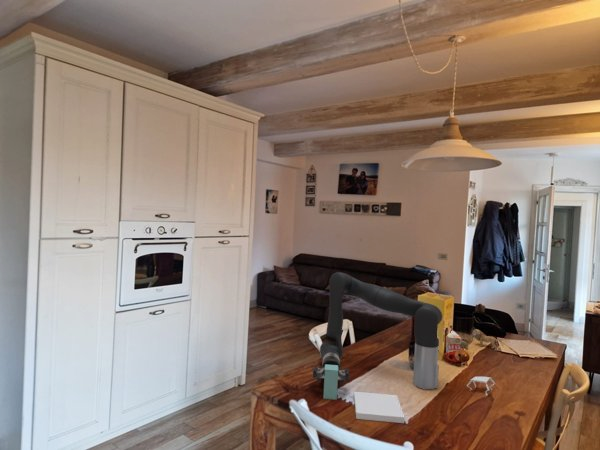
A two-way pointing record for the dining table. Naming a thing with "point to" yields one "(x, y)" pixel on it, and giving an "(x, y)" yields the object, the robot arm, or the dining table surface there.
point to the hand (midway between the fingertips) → (330, 381)
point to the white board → (378, 407)
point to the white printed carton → (453, 342)
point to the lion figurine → (485, 339)
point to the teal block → (330, 382)
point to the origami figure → (481, 379)
